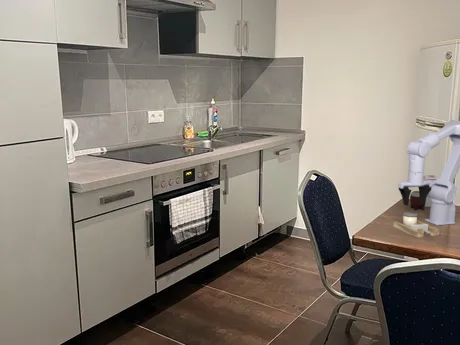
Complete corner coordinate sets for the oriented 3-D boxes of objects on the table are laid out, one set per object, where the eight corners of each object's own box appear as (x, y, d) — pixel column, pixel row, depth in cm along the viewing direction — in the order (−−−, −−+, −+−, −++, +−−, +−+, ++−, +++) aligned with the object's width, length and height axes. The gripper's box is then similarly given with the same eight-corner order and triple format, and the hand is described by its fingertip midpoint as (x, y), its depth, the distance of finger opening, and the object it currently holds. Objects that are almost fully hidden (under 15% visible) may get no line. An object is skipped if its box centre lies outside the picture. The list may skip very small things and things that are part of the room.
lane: (413, 224, 193) (414, 217, 192) (439, 235, 179) (439, 227, 178) (392, 226, 190) (392, 219, 190) (416, 237, 176) (416, 230, 175)
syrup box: (436, 207, 220) (438, 177, 217) (423, 206, 221) (425, 177, 218) (433, 204, 225) (435, 175, 223) (420, 203, 226) (423, 174, 224)
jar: (418, 228, 188) (419, 213, 187) (412, 230, 184) (413, 216, 183) (406, 225, 192) (407, 210, 190) (399, 227, 188) (400, 213, 187)
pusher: (425, 230, 184) (426, 223, 183) (437, 235, 177) (437, 228, 177) (410, 232, 182) (410, 225, 181) (421, 237, 176) (421, 230, 175)
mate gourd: (412, 205, 222) (414, 175, 219) (429, 208, 217) (431, 177, 214) (406, 209, 217) (409, 178, 214) (424, 212, 212) (426, 180, 209)
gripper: (424, 168, 190) (422, 200, 192) (394, 170, 186) (392, 203, 188) (436, 171, 183) (433, 204, 186) (405, 173, 179) (403, 207, 182)
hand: (413, 204), depth 187 cm, fingers open, 7 cm apart
